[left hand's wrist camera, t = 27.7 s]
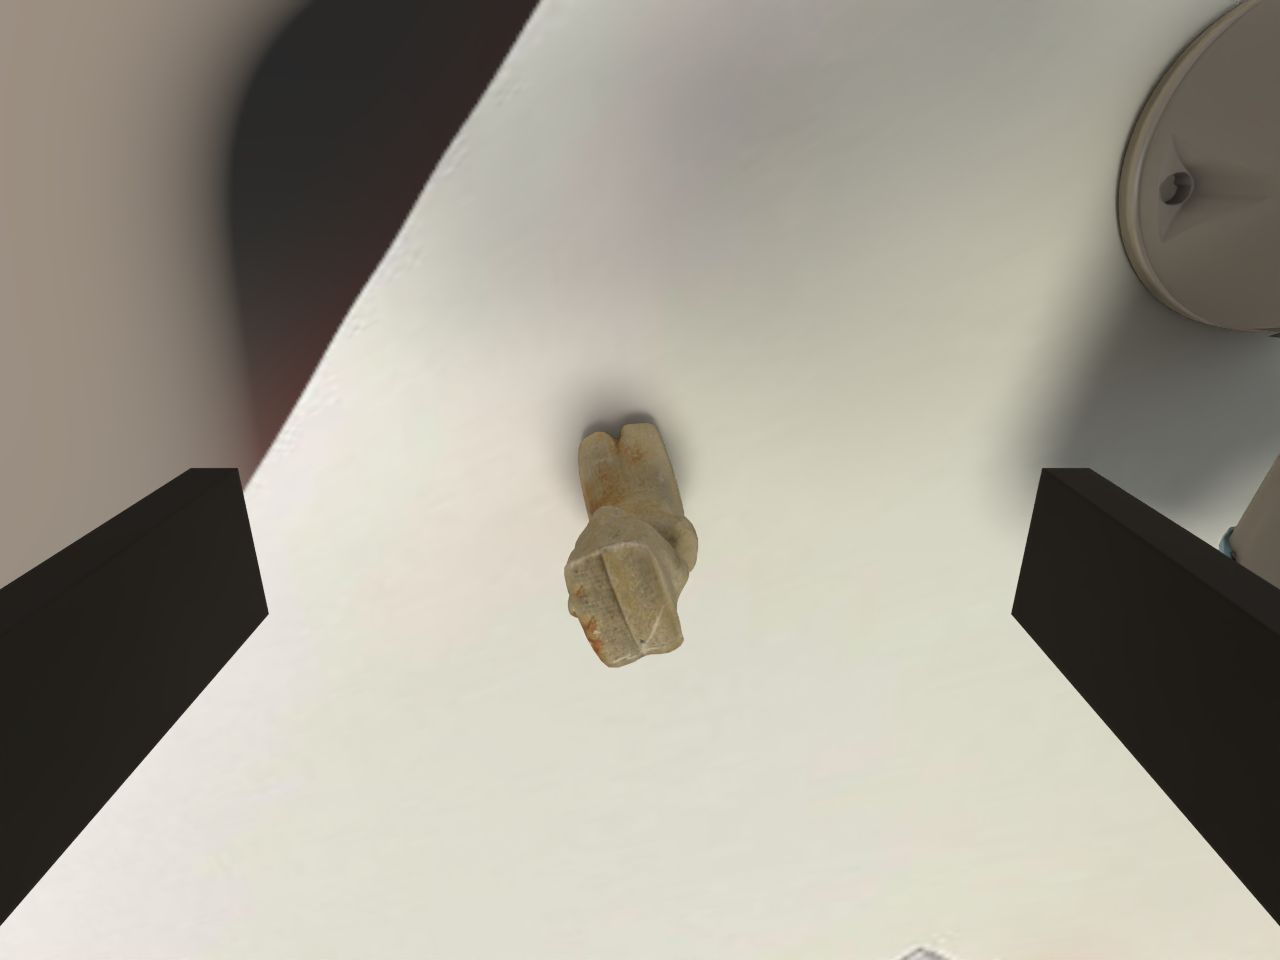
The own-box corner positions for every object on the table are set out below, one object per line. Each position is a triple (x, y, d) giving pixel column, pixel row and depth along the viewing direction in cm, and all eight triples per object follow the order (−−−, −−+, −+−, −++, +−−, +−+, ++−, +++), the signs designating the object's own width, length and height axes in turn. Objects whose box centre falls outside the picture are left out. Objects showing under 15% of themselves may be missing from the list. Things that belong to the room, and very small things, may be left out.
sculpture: (670, 406, 40) (690, 528, 26) (699, 525, 42) (731, 696, 28) (564, 431, 40) (526, 564, 26) (599, 548, 43) (581, 726, 29)
